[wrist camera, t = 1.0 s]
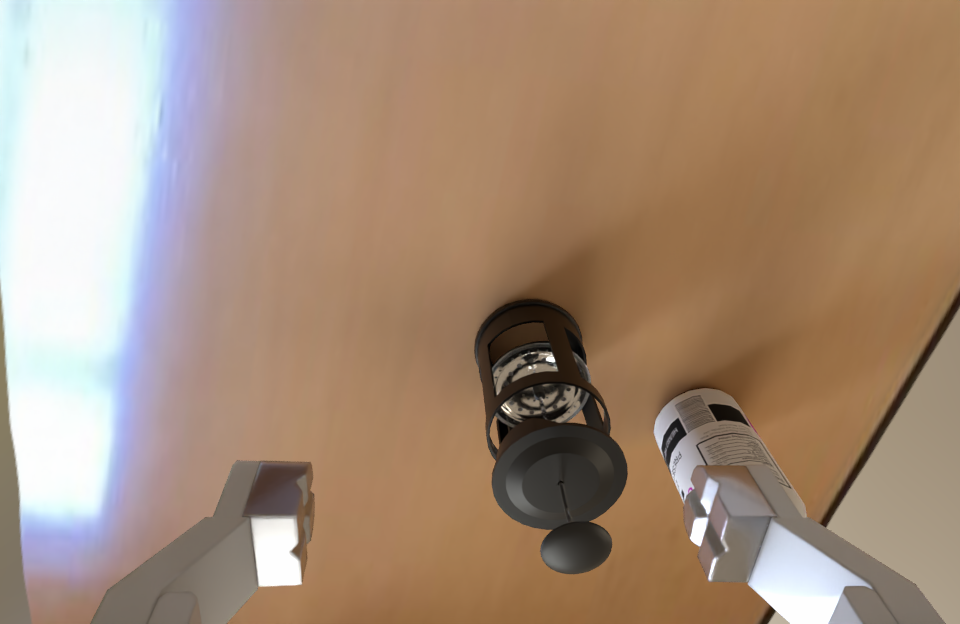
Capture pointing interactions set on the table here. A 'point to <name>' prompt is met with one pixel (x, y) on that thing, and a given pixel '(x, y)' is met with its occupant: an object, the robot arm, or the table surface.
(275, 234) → the table surface
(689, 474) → the supplement can
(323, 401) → the table surface
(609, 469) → the french press
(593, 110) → the table surface
